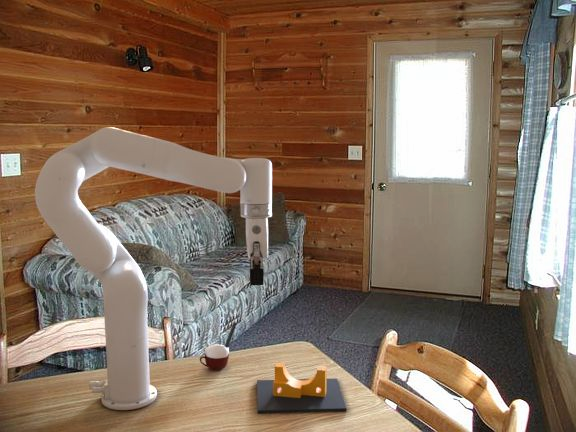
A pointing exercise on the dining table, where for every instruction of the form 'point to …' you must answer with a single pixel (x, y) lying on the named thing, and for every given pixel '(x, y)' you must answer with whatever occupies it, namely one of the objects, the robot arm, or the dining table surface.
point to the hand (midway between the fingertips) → (256, 279)
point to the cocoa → (218, 353)
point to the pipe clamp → (299, 383)
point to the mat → (299, 400)
